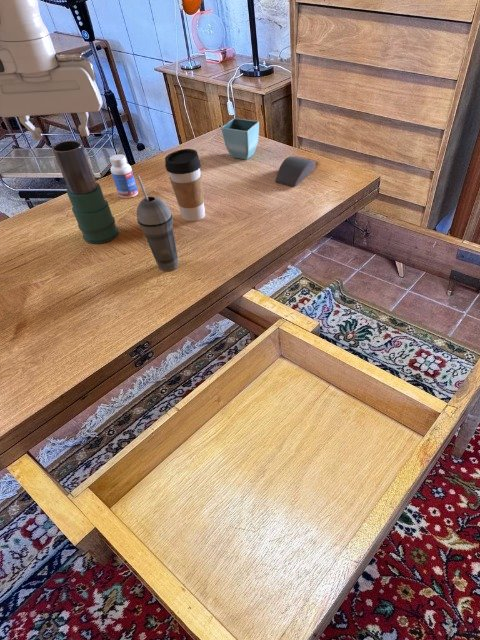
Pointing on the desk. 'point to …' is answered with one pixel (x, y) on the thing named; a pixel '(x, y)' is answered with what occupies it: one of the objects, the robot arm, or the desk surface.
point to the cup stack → (94, 216)
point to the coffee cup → (187, 182)
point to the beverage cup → (158, 230)
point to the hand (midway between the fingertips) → (62, 137)
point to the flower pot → (241, 137)
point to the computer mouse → (294, 170)
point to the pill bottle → (123, 176)
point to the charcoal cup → (74, 167)
